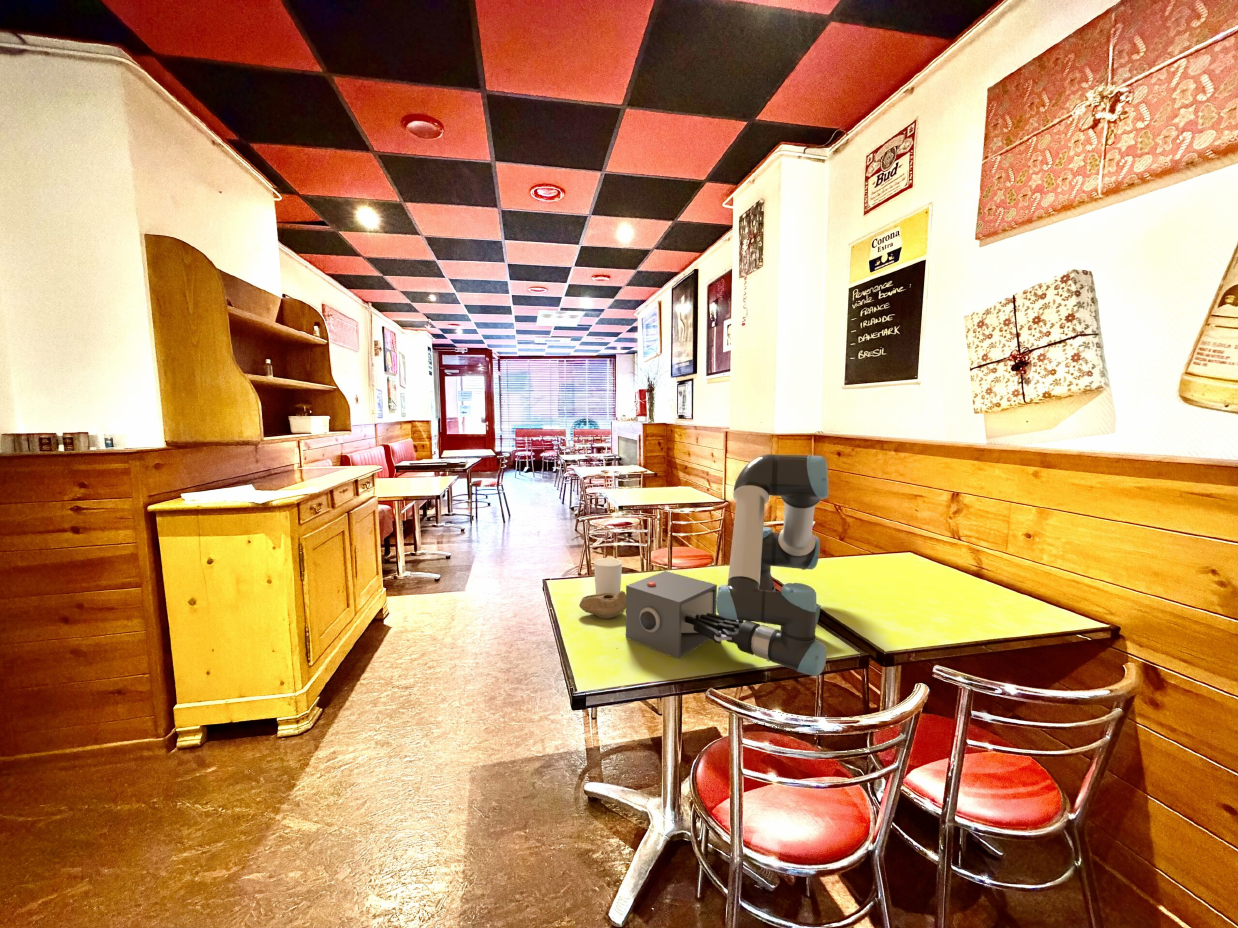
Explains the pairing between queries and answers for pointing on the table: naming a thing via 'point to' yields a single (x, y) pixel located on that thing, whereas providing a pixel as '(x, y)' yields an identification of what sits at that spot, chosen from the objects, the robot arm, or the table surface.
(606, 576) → the candle holder
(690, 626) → the side door
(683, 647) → the cabinet with door
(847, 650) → the table surface
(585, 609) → the oil lamp
